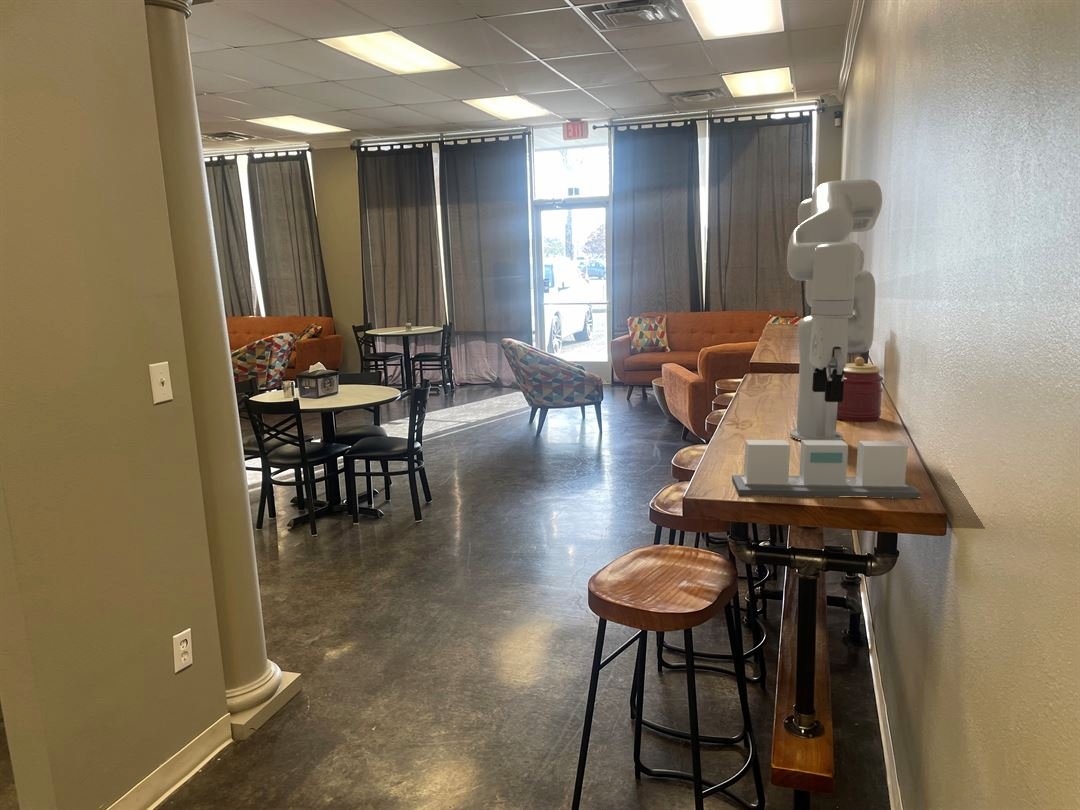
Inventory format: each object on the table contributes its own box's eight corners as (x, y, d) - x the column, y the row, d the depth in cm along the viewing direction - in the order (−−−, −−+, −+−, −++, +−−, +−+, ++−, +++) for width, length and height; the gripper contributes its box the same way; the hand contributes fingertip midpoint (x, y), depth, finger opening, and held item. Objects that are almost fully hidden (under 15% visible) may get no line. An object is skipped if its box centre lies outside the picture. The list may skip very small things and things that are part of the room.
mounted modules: (744, 477, 150) (745, 439, 148) (897, 479, 146) (900, 441, 144) (747, 483, 146) (748, 444, 144) (904, 485, 142) (907, 446, 140)
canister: (875, 414, 214) (880, 354, 211) (885, 423, 202) (889, 360, 198) (828, 412, 217) (832, 354, 214) (835, 422, 205) (838, 359, 202)
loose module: (799, 478, 148) (801, 440, 147) (840, 478, 147) (842, 440, 146) (804, 484, 144) (806, 445, 143) (846, 484, 143) (848, 445, 142)
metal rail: (741, 478, 150) (741, 476, 150) (899, 481, 146) (899, 479, 146) (744, 485, 146) (744, 484, 145) (908, 488, 142) (908, 486, 141)
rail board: (732, 480, 153) (732, 475, 153) (902, 483, 149) (902, 477, 149) (738, 495, 144) (738, 489, 143) (920, 498, 139) (921, 492, 139)
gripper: (801, 305, 148) (797, 388, 152) (822, 313, 131) (817, 405, 135) (839, 305, 147) (835, 388, 151) (866, 312, 130) (860, 405, 134)
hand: (826, 396), depth 143 cm, fingers open, 9 cm apart
